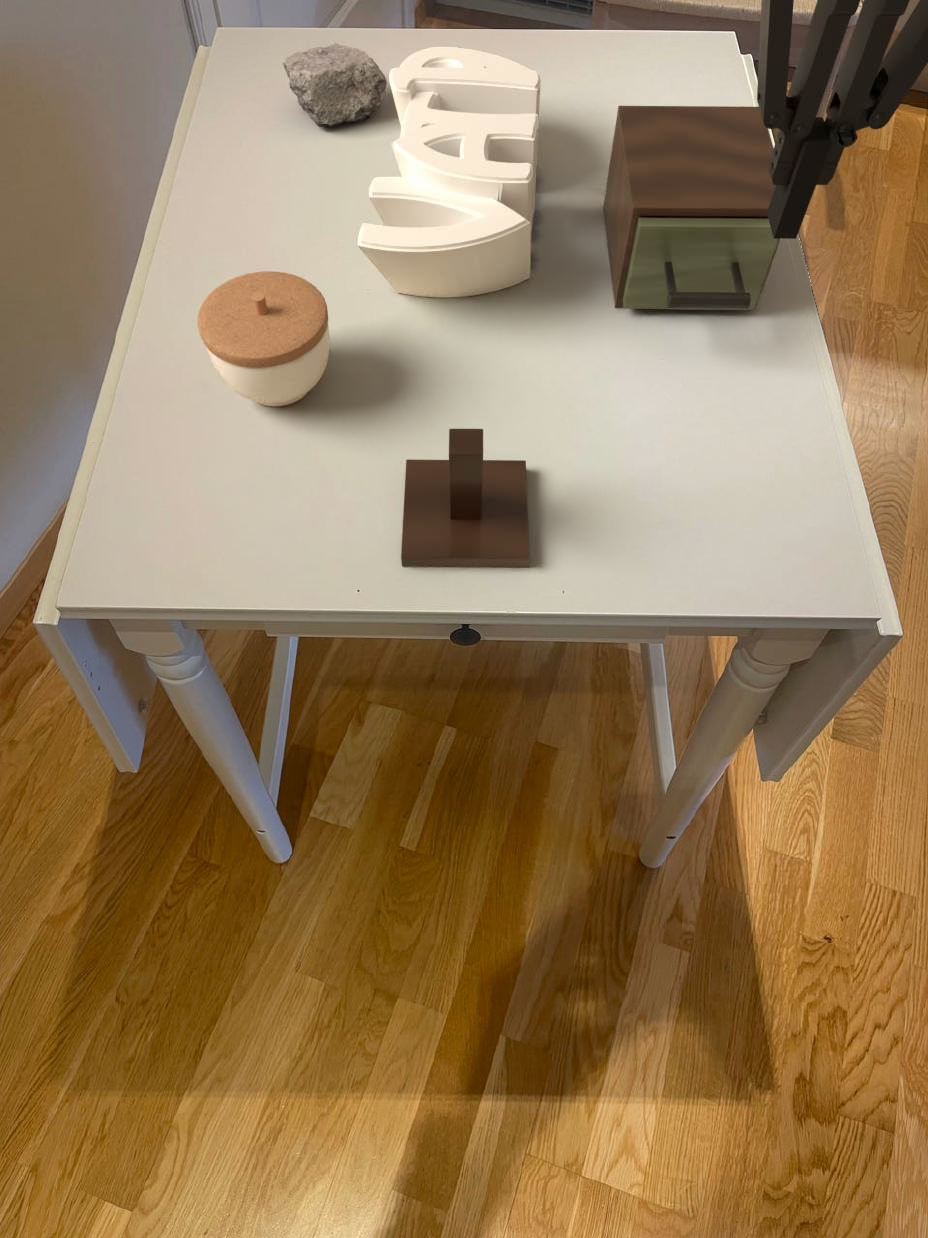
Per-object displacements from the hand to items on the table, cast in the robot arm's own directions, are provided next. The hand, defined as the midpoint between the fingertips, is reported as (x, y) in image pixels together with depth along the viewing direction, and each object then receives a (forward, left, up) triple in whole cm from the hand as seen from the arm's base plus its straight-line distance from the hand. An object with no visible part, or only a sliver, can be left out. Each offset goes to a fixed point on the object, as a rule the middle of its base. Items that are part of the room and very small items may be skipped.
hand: (781, 225), depth 59 cm
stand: (+11, +20, -20) cm, 31 cm away
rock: (+58, -18, -21) cm, 65 cm away
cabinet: (+14, -19, -20) cm, 32 cm away
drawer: (+12, -16, -20) cm, 28 cm away
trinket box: (+34, +18, -21) cm, 44 cm away
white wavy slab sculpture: (+36, -11, -21) cm, 42 cm away
